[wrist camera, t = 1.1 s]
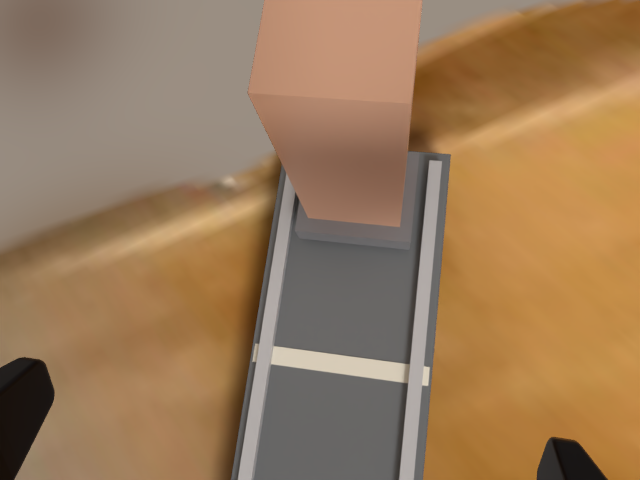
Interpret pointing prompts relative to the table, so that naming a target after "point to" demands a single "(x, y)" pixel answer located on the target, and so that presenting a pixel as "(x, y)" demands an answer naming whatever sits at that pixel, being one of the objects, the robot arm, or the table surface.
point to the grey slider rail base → (344, 349)
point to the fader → (342, 113)
